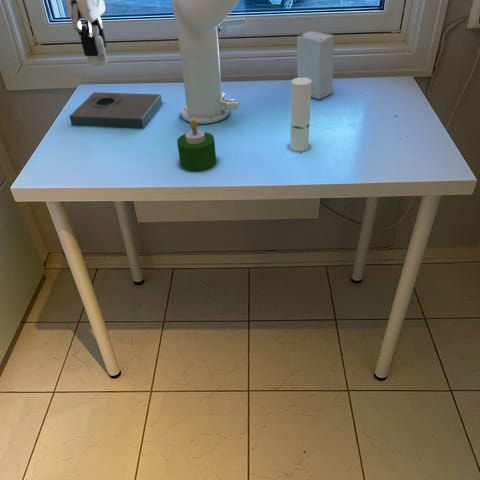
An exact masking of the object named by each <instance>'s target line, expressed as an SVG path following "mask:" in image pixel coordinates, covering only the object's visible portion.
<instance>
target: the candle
mask: <svg viewBox="0 0 480 480" xmlns="http://www.w3.org/2000/svg"><path fill="white" fill-rule="evenodd" d="M190 129H191V130H188V131H186V133H183V134H181V135H180V136H179V137H178V138H177V139H176V140H177V141H176V143H177V151H178V159H179V164H180V167H181V168H182V169H183V170H185V171H187V172H204V171H207V170H210V169H212V168H214V166H215V165H216V163H217V155H216V144H215V137H214V135H213V134H212V133H209V132H207V131H203V130H201V129H198V123H197V122H196V121H195V120H192V121H191V122H190Z"/></svg>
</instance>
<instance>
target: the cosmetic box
mask: <svg viewBox="0 0 480 480" xmlns="http://www.w3.org/2000/svg"><path fill="white" fill-rule="evenodd" d="M334 41H335V35H334V34H329V33H323V32H318V31H313V30H310V31H307V32H305V33H302V34H300V35H298V36H297V37H296V71H297V72H296V73H297V76H296V78H300V77H304V78H309V79H311V98H313V99H316V100H321V99H324V98H325V97H327V96H330V95H332V94H333V81H334V80H333V78H334V75H333V74H334V45H335V43H334Z"/></svg>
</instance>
